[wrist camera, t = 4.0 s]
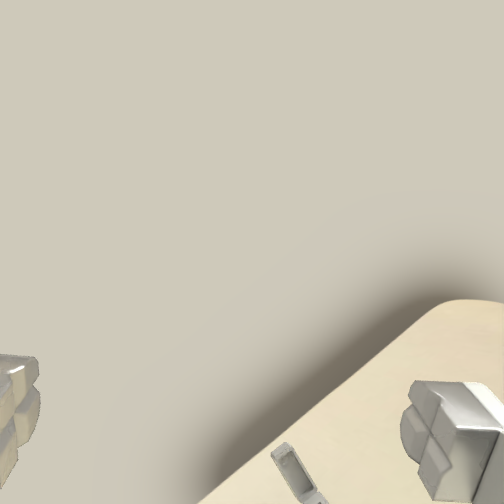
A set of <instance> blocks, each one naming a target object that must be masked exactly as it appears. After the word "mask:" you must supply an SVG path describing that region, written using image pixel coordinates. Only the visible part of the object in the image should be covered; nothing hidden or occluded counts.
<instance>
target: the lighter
mask: <svg viewBox="0 0 504 504" xmlns="http://www.w3.org/2000/svg"><path fill="white" fill-rule="evenodd" d="M271 457H272V459H273V460H274V462H275V464H276V466H277V467H278V469H279V471H280V472H281V474H282V476H283V477H284V479H285V481H286V482H287V484H288V486H289V487H290V489H291V491H292V492H293V494H294V496H295V497H296V498H297V500H298V501H299V502H300V503H303V504H329V503H328V502H327V500H326V499H325V498H324V497H323V495H322V494H321V493H320V492H317V487H316V485H315V483H314V482H313V480H312V478H311V477H310V475H309V473H308V472H307V470H306V468H305V467H304V465H303V463H302V462H301V460H300V458H299V457H298V455H297V453H296V452H295V450H294V448H293V447H292V446H291V445H290V444H289V443H287V442H284V443H283V444H282V445H280V446H279V447H278V448H276V449H275V450H274V451H272V452H271Z"/></svg>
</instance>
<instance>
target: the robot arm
mask: <svg viewBox="0 0 504 504" xmlns="http://www.w3.org/2000/svg"><path fill="white" fill-rule="evenodd" d="M38 376H39V367H38V361H37V359H36V358H35V357H30V356H17V355H5V354H0V489H2V487H3V485H4V483H5V482H6V480H7V478H8V476H9V474H10V473H11V471H12V469H13V468H14V466H15V464H16V462H17V461H18V450H17V448H19V447H20V446H22V445H24V444H25V443H27V442H28V441H29V439H30V437H31V435H32V434H33V432H34V430H35V427H36V423H37V420H38V417H39V411H40V393H39V391H38V390H37V389H36V388H35V387H34V386H33V384H34V382H35V381H36V379H37V377H38ZM408 397H409V399H410V401H411V403H412V404H411V405H410V406H409V407H408V408H407V409H406V410H405V411H404V412H403V415H402V419H401V423H400V433H401V440H402V443H403V447H404V449H405V451H406V453H407V455H408V456H409V457H410V458H411V459H413V460H414V461H415V462H417V463H418V464H419V465H420V466H419V470H418V475H419V477H420V479H421V480H422V482H423V484H424V486H425V488H426V490H427V491H428V493H429V495H430V497H431V499H432V501H448V502H465V503H472V504H504V404H503V403H502V402H501V401H500V400H499V399H498V398H497V397H496V396H495V395H494V394H493V393H492V392H491V391H490V390H489V389H488V388H487V387H486V386H485V385H483V384H481V383H479V382H439V381H416V380H415V381H414V383H413V384H412V385H411V387H410V391H409V394H408Z"/></svg>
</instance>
